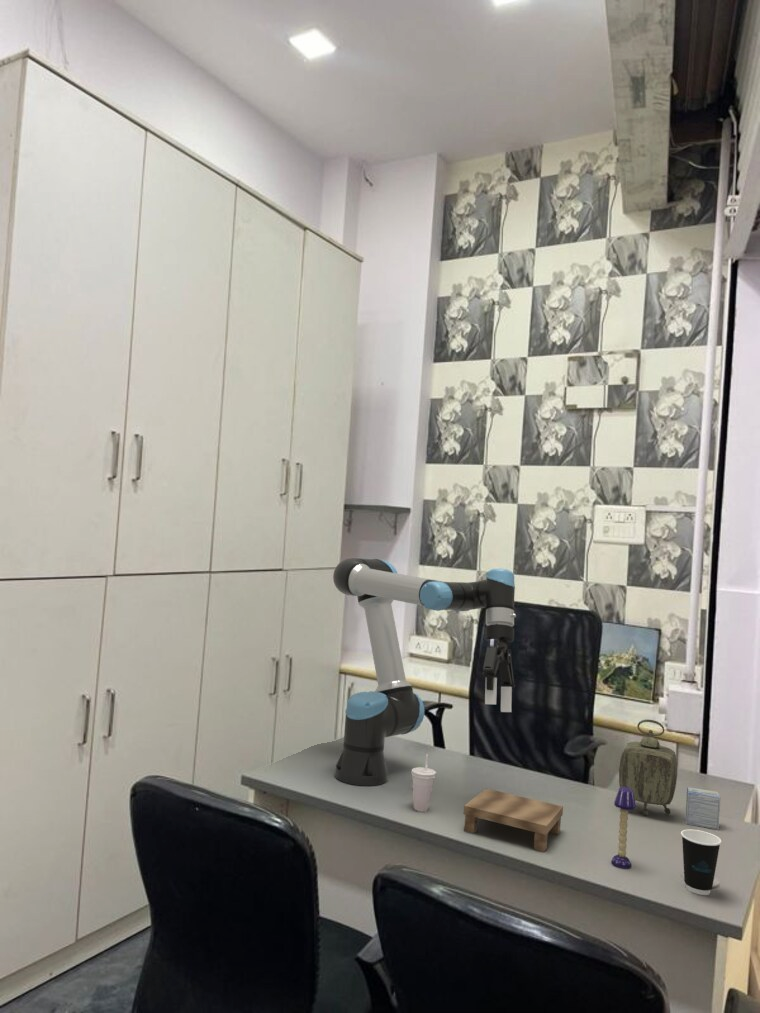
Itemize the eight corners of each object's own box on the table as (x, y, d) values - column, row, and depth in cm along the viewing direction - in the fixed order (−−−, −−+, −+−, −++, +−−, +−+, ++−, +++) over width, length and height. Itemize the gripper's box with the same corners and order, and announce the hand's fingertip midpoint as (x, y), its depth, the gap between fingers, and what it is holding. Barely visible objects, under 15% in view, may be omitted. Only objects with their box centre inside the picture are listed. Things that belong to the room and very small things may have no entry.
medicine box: (717, 825, 197) (718, 791, 198) (718, 830, 193) (720, 796, 193) (685, 819, 200) (686, 786, 200) (686, 824, 195) (688, 791, 196)
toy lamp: (607, 859, 168) (611, 784, 169) (627, 860, 169) (631, 785, 170) (615, 868, 164) (620, 791, 165) (636, 869, 164) (640, 792, 165)
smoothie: (431, 815, 187) (435, 759, 188) (406, 811, 188) (410, 755, 189) (434, 806, 193) (438, 752, 194) (410, 803, 195) (414, 749, 195)
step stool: (462, 830, 178) (464, 805, 179) (484, 812, 192) (485, 788, 193) (544, 852, 169) (546, 826, 169) (561, 831, 183) (563, 806, 184)
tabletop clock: (675, 814, 203) (680, 721, 204) (673, 824, 195) (678, 728, 196) (619, 802, 209) (625, 712, 210) (615, 812, 201) (621, 718, 202)
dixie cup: (697, 900, 151) (700, 845, 152) (669, 882, 159) (672, 830, 159) (727, 896, 154) (730, 842, 155) (698, 879, 161) (701, 828, 162)
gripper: (500, 614, 186) (498, 700, 178) (525, 636, 207) (525, 715, 199) (471, 615, 189) (468, 700, 181) (499, 637, 210) (498, 714, 202)
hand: (498, 708), depth 190 cm, fingers open, 13 cm apart
